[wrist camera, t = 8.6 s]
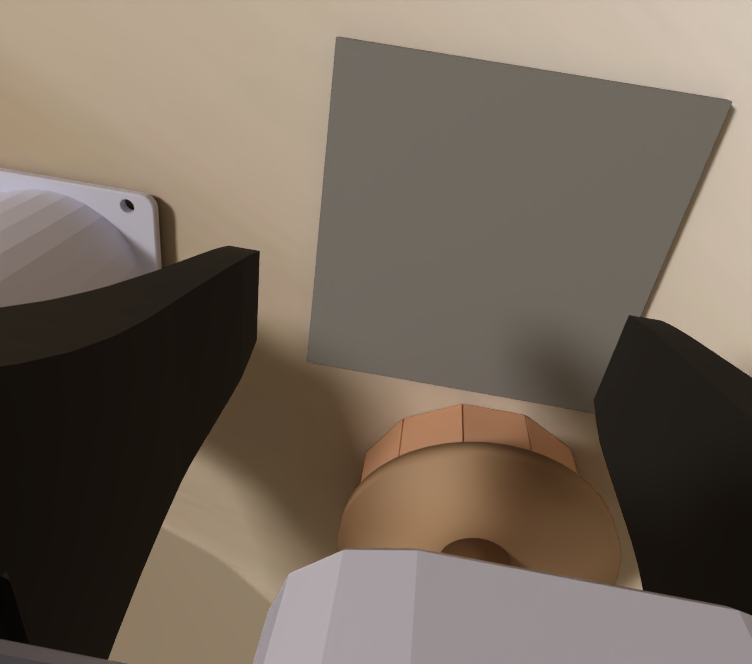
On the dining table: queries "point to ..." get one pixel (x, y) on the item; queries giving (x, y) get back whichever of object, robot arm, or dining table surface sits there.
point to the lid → (486, 510)
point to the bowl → (466, 434)
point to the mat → (495, 218)
